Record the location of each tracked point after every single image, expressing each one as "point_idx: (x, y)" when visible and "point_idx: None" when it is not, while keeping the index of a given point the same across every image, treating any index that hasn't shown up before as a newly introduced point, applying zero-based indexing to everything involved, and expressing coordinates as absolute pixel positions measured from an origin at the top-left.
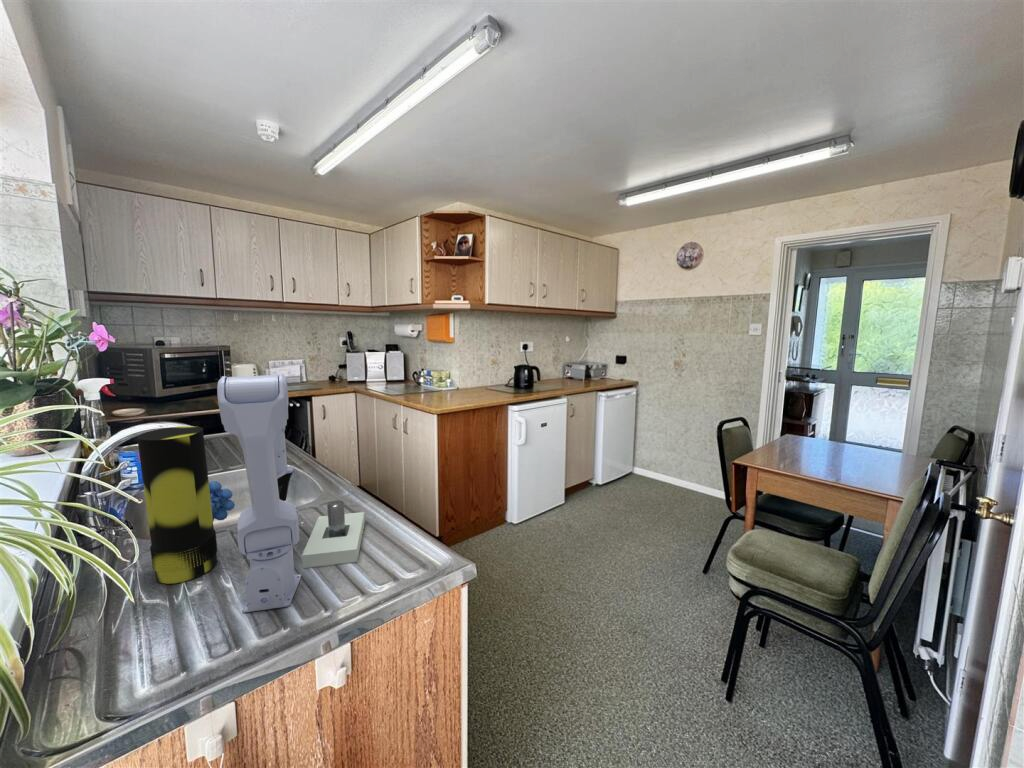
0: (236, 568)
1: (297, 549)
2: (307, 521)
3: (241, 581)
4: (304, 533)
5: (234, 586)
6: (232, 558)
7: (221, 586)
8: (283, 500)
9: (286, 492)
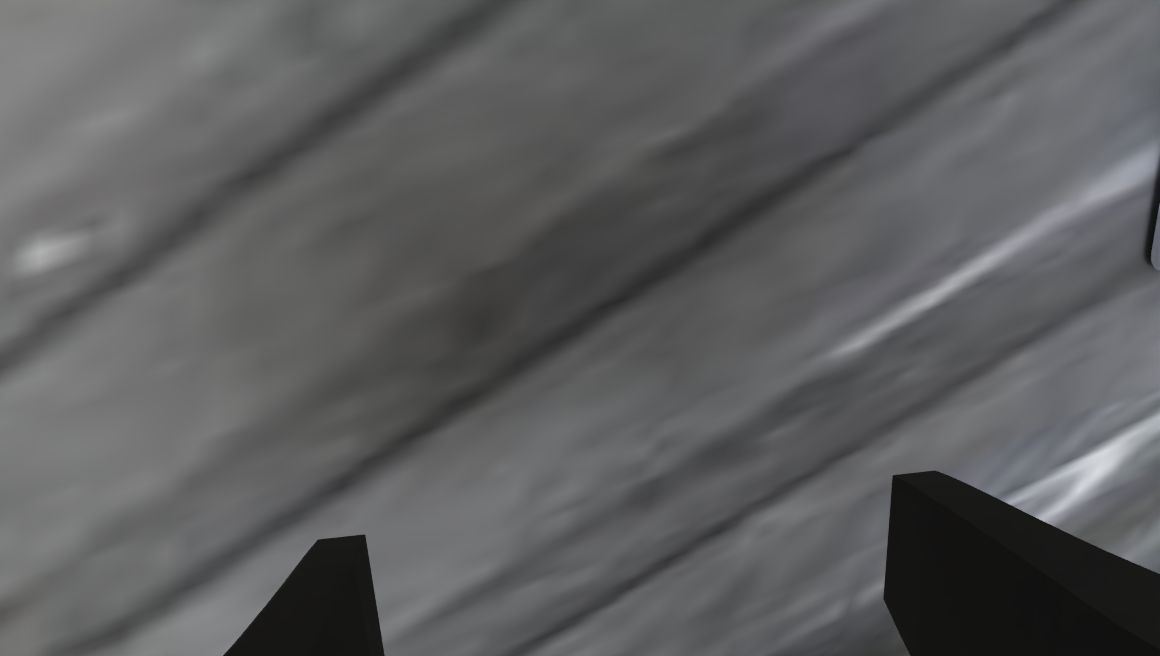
0: (880, 518)
1: (681, 112)
2: (14, 199)
3: (1081, 404)
4: (330, 143)
5: (1130, 425)
6: (718, 610)
7: (1095, 510)
8: (366, 565)
9: (337, 612)
